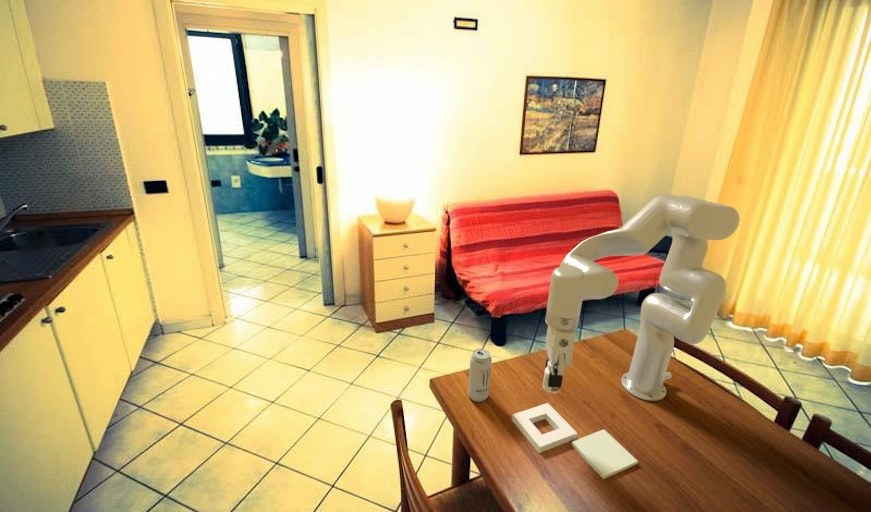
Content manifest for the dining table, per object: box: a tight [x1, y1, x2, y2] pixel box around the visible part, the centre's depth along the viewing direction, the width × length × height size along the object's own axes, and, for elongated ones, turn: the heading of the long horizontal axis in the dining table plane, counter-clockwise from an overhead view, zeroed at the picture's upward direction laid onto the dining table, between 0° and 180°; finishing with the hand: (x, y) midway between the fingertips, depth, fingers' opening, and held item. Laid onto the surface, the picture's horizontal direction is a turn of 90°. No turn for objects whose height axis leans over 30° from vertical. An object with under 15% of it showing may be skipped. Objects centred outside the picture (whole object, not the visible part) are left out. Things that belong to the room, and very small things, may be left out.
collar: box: [511, 402, 578, 454], centre depth 109 cm, size 12×12×2 cm
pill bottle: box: [542, 359, 561, 394], centre depth 103 cm, size 4×4×8 cm
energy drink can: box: [467, 348, 492, 403], centre depth 118 cm, size 6×6×15 cm
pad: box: [571, 429, 638, 480], centre depth 102 cm, size 11×11×1 cm
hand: (552, 379), depth 103 cm, fingers closed on pill bottle, 4 cm apart
